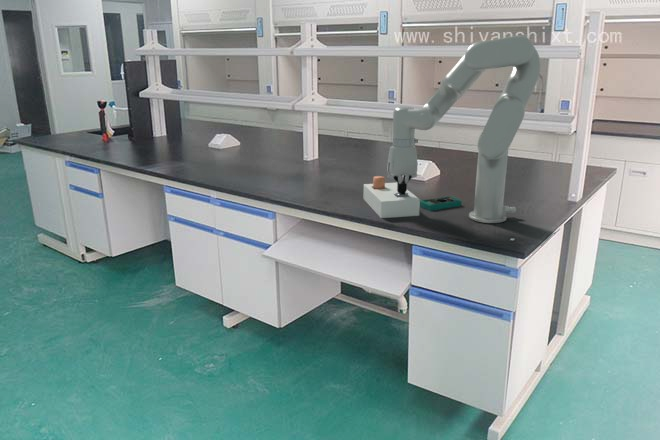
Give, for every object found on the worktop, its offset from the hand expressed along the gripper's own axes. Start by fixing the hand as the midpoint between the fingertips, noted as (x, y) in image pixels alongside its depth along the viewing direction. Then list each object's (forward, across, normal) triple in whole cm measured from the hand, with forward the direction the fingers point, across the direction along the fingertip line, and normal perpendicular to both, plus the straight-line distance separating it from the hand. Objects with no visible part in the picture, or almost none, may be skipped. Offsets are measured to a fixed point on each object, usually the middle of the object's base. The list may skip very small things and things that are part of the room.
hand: (401, 193), depth 190 cm
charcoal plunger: (+5, 0, 0) cm, 5 cm away
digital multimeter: (+7, -16, -3) cm, 18 cm away
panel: (+7, +2, -6) cm, 10 cm away
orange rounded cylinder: (+2, +5, -13) cm, 14 cm away
